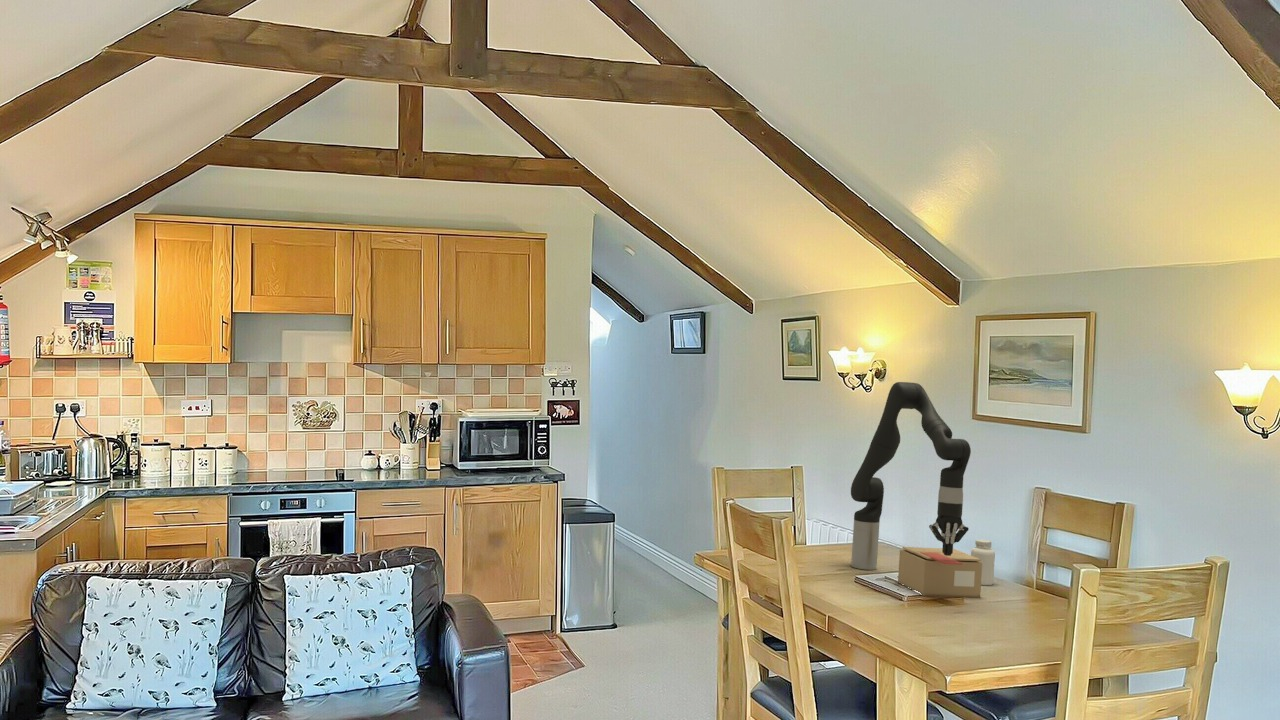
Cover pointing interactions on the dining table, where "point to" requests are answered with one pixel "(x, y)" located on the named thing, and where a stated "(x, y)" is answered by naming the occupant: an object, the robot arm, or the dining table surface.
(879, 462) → the robot arm
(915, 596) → the dining table surface
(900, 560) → the carton
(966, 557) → the flap
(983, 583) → the pill bottle
